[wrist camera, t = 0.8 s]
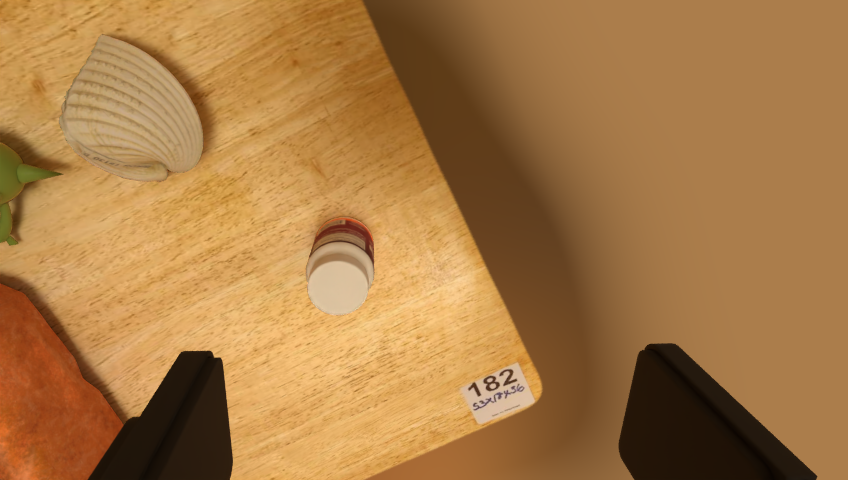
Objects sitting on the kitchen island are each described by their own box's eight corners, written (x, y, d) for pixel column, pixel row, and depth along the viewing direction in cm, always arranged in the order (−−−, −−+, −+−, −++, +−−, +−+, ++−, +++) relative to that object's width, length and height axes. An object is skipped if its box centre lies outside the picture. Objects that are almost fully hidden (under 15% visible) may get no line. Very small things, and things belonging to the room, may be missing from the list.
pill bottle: (365, 275, 42) (363, 327, 34) (309, 261, 41) (293, 312, 33) (381, 223, 40) (383, 266, 33) (322, 208, 40) (310, 248, 32)
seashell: (125, 215, 36) (6, 145, 30) (162, 127, 40) (65, 51, 34) (208, 189, 33) (94, 105, 27) (238, 97, 37) (146, 7, 31)
